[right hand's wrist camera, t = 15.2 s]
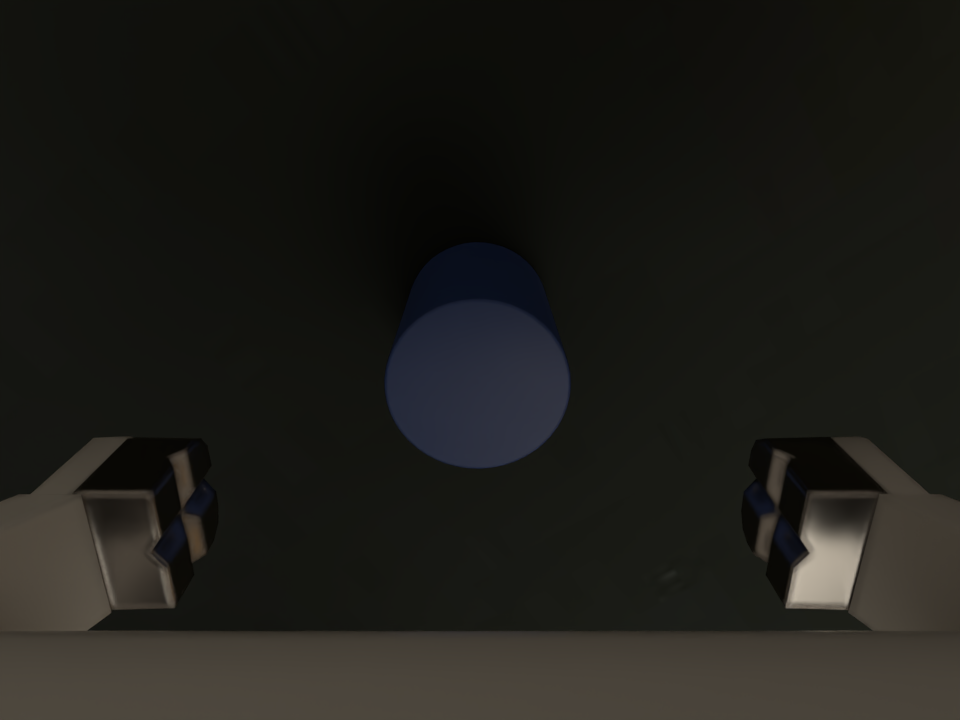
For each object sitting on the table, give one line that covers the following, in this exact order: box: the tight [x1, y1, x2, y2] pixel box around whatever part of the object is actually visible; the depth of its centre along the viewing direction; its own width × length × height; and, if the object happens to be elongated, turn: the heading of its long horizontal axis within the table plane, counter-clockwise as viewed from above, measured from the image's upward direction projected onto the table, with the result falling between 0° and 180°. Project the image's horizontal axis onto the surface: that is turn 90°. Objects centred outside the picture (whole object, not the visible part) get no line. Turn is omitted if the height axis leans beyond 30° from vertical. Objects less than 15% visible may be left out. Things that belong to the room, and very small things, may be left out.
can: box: [384, 242, 571, 469], centre depth 15 cm, size 4×4×5 cm
